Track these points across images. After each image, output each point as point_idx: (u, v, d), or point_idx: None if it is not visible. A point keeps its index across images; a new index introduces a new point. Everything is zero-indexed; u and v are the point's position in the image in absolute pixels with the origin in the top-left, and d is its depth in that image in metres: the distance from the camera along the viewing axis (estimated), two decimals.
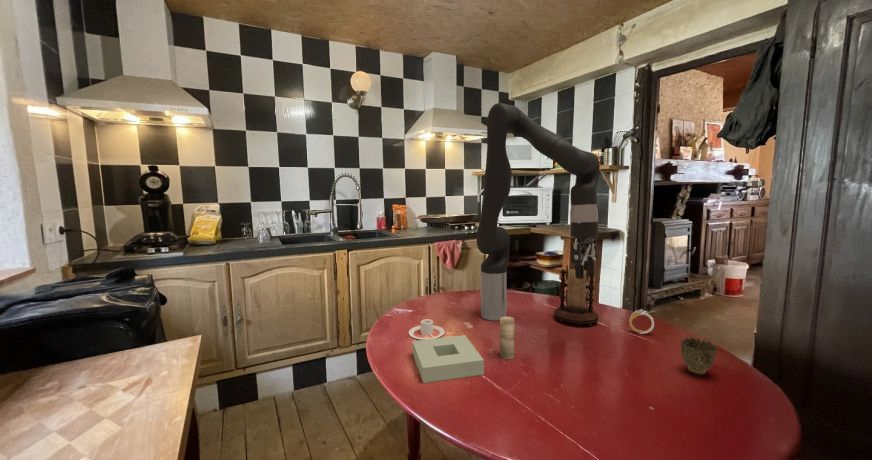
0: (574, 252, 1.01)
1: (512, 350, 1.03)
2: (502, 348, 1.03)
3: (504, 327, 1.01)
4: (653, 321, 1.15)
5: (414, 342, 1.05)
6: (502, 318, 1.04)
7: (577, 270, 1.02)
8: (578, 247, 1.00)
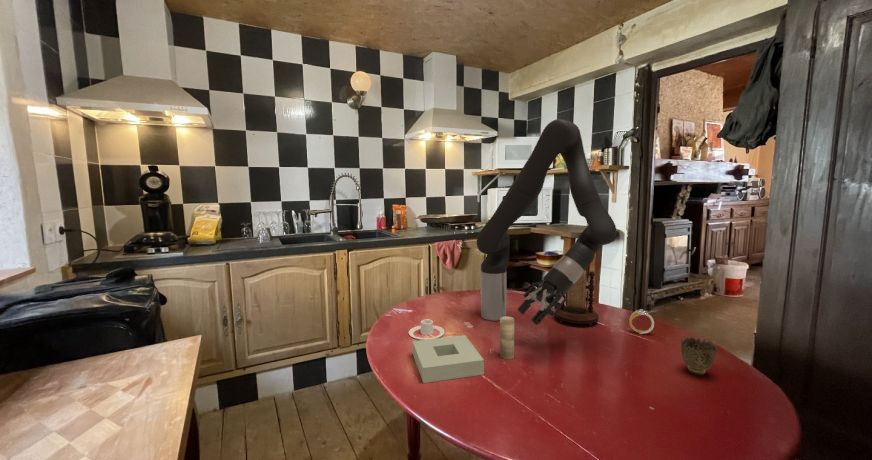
0: (556, 304, 0.98)
1: (512, 350, 1.03)
2: (502, 348, 1.03)
3: (504, 327, 1.01)
4: (653, 321, 1.15)
5: (414, 342, 1.05)
6: (502, 318, 1.04)
7: (540, 317, 0.99)
8: (562, 303, 0.98)
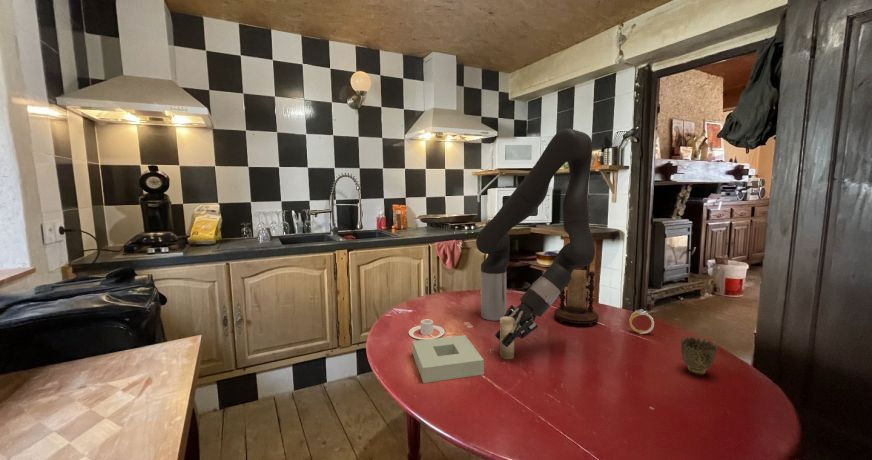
0: (526, 329, 0.98)
1: (512, 350, 1.02)
2: (502, 348, 1.03)
3: (504, 327, 1.01)
4: (653, 321, 1.15)
5: (414, 342, 1.05)
6: (502, 318, 1.03)
7: (510, 339, 1.00)
8: (533, 329, 0.98)
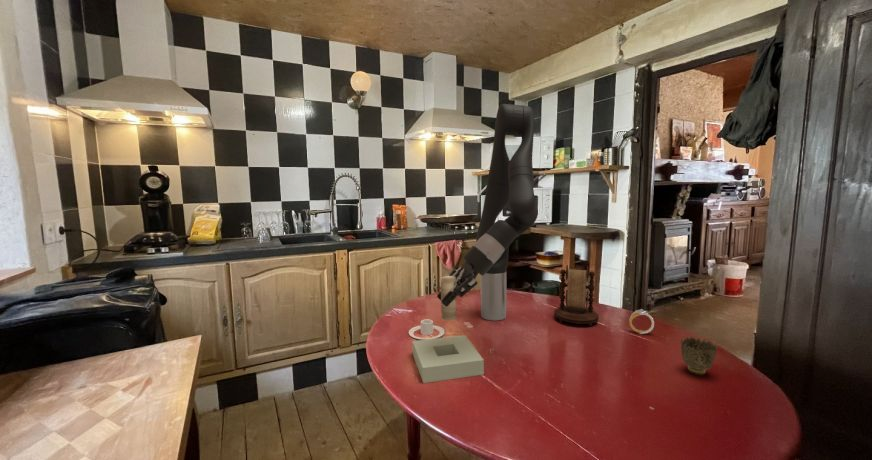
0: (465, 286, 0.92)
1: (453, 310, 0.97)
2: (443, 308, 0.97)
3: (444, 285, 0.96)
4: (653, 321, 1.15)
5: (414, 342, 1.05)
6: (443, 277, 0.98)
7: (450, 298, 0.94)
8: (473, 286, 0.92)
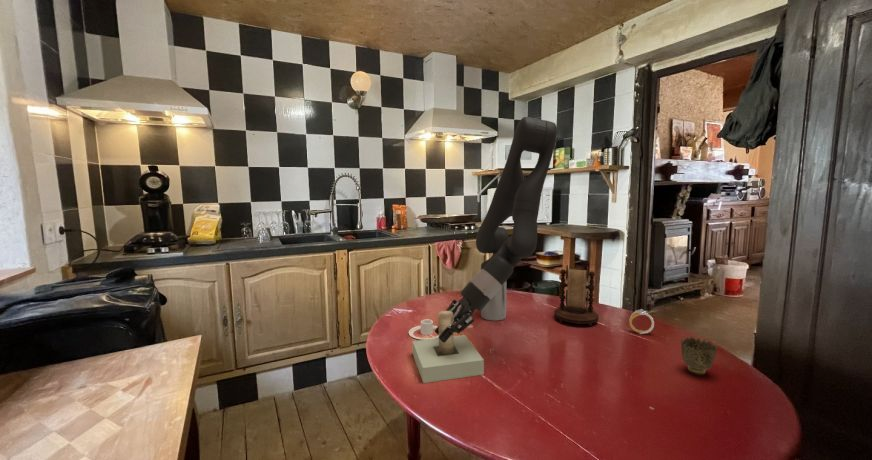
0: (462, 323, 0.93)
1: (451, 346, 0.98)
2: (440, 344, 0.98)
3: (441, 321, 0.97)
4: (653, 321, 1.15)
5: (414, 342, 1.05)
6: (441, 312, 0.99)
7: (447, 334, 0.96)
8: (469, 323, 0.93)
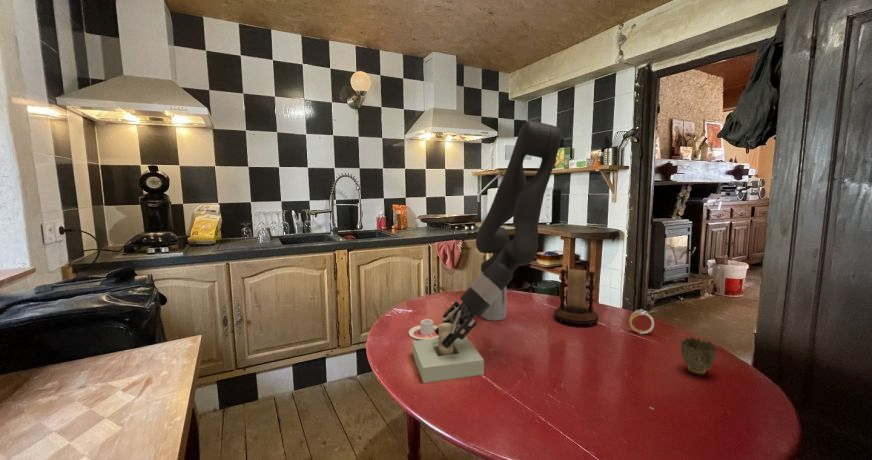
0: (466, 327, 0.93)
1: None
2: None
3: (442, 334, 0.98)
4: (653, 321, 1.15)
5: (414, 342, 1.05)
6: (441, 324, 1.00)
7: (450, 340, 0.94)
8: (472, 326, 0.93)
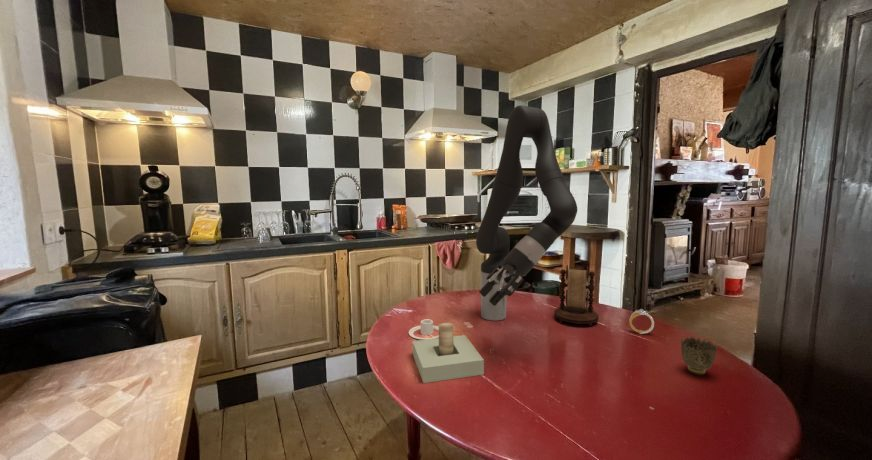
0: (513, 284, 0.95)
1: None
2: None
3: (442, 334, 0.98)
4: (653, 321, 1.15)
5: (414, 342, 1.05)
6: (441, 324, 1.00)
7: (498, 297, 0.96)
8: (520, 282, 0.95)
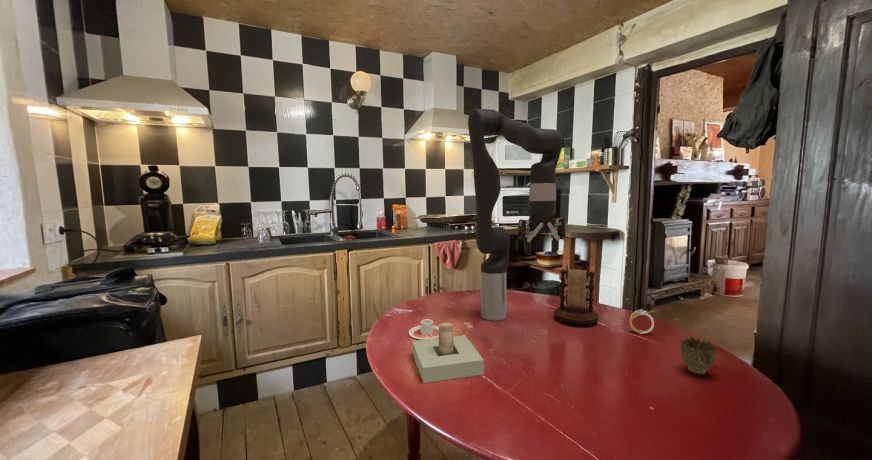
0: (519, 229, 1.06)
1: None
2: None
3: (442, 334, 0.98)
4: (653, 321, 1.15)
5: (414, 342, 1.05)
6: (441, 324, 1.00)
7: (524, 246, 1.07)
8: (521, 224, 1.05)
